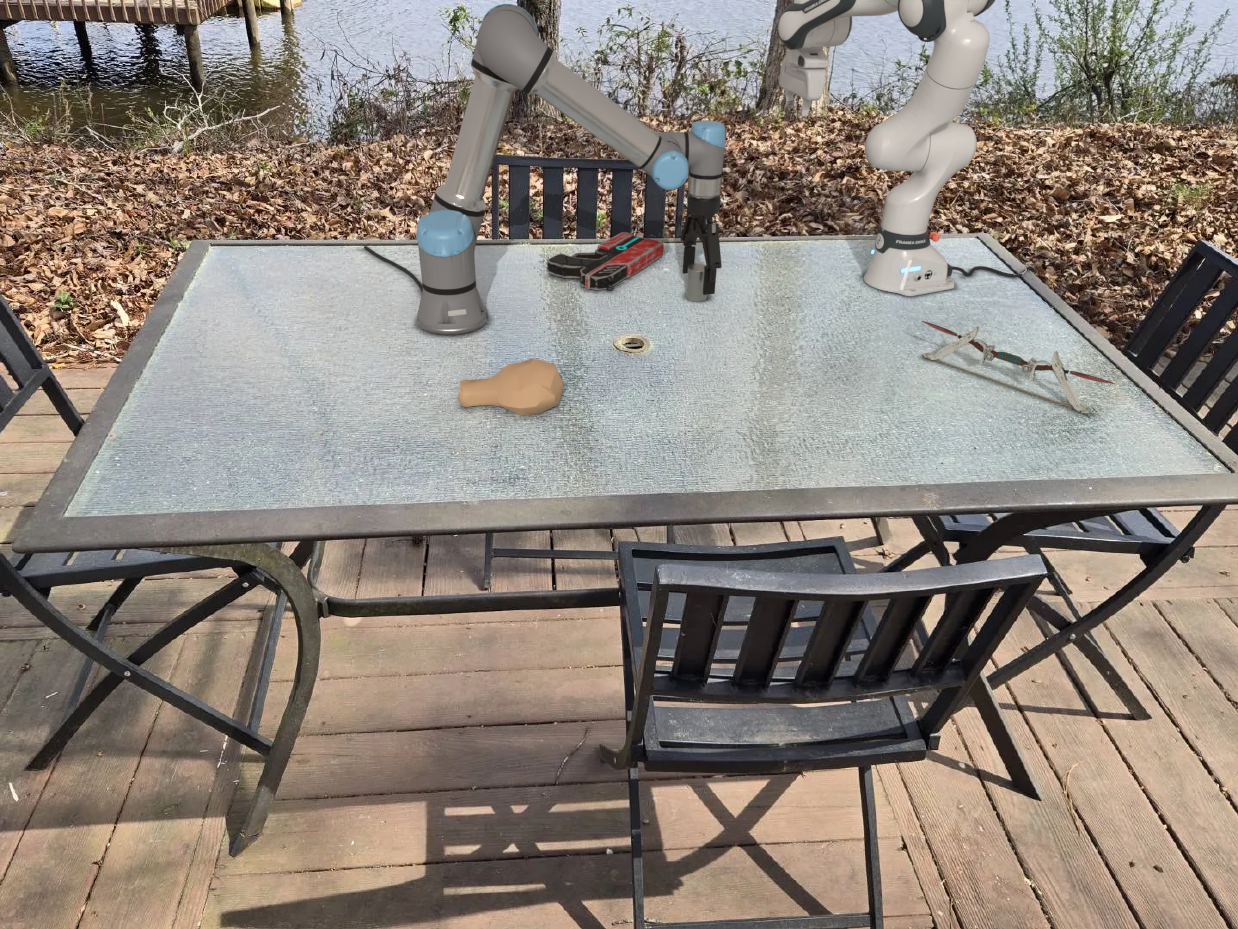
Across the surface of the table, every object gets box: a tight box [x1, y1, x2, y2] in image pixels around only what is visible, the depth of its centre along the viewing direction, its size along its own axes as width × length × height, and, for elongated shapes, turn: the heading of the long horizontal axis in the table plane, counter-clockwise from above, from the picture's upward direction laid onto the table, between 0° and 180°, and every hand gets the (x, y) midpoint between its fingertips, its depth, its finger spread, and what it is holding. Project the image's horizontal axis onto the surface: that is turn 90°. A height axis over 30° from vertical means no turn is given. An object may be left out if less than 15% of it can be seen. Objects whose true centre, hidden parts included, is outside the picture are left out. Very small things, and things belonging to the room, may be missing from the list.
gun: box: [546, 231, 665, 292], centre depth 225 cm, size 4×31×19 cm
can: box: [685, 263, 708, 303], centre depth 210 cm, size 5×5×8 cm
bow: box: [921, 320, 1114, 414], centre depth 176 cm, size 39×2×10 cm, turn 47°
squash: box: [457, 358, 565, 416], centre depth 164 cm, size 11×20×9 cm, turn 90°
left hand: (698, 283), depth 210 cm, fingers open, 13 cm apart
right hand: (796, 111), depth 233 cm, fingers open, 8 cm apart
